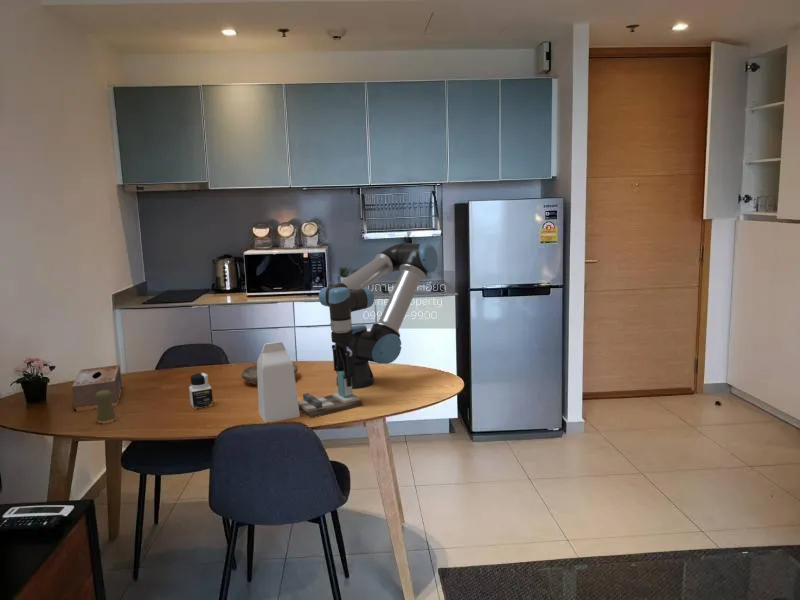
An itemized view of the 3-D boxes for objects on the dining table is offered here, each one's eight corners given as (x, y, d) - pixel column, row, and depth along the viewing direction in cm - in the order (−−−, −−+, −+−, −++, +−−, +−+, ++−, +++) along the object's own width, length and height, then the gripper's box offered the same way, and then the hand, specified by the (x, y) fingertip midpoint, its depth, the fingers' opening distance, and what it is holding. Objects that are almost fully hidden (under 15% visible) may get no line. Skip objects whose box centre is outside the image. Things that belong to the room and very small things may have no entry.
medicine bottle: (193, 409, 224) (190, 378, 222) (190, 404, 230) (187, 373, 228) (213, 406, 227) (210, 374, 225) (210, 400, 233) (206, 370, 231)
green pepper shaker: (101, 418, 219) (97, 389, 217) (118, 417, 219) (115, 387, 218) (94, 424, 213) (90, 394, 211) (112, 423, 213) (108, 393, 212)
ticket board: (295, 407, 221) (294, 395, 221) (344, 395, 232) (343, 384, 231) (310, 418, 210) (309, 405, 209) (362, 405, 220) (361, 393, 219)
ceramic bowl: (310, 376, 260) (309, 364, 260) (270, 392, 241) (269, 380, 240) (270, 370, 273) (269, 359, 272) (230, 384, 253) (229, 373, 252)
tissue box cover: (84, 393, 251) (80, 369, 250) (122, 387, 256) (119, 364, 255) (75, 412, 228) (71, 386, 226) (117, 406, 233) (114, 381, 231)
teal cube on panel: (332, 396, 227) (330, 370, 225) (346, 393, 230) (345, 367, 228) (344, 403, 218) (342, 376, 217) (359, 400, 221) (357, 373, 220)
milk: (265, 423, 207) (258, 348, 203) (258, 413, 217) (252, 341, 213) (299, 416, 212) (294, 343, 207) (292, 407, 222) (286, 337, 218)
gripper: (321, 328, 225) (326, 389, 229) (342, 336, 211) (347, 401, 214) (340, 325, 229) (344, 385, 233) (362, 333, 214) (365, 396, 218)
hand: (345, 392), depth 224 cm, fingers closed on teal cube on panel, 4 cm apart
